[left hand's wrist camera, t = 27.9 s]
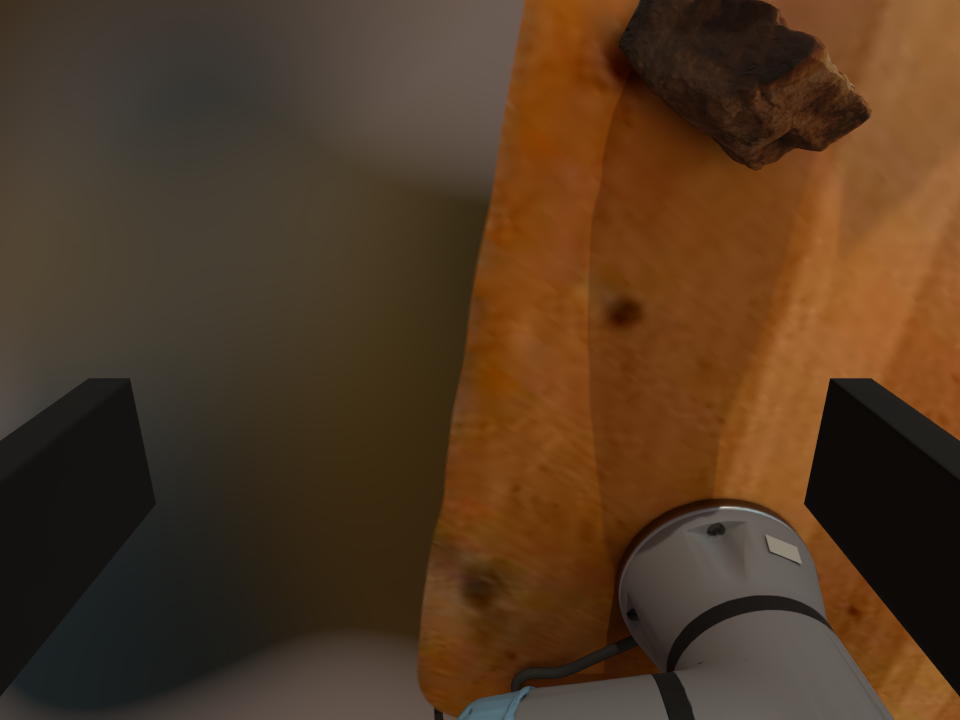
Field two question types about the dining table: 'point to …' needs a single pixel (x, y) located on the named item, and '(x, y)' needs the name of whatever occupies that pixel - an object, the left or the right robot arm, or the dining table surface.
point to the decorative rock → (742, 76)
